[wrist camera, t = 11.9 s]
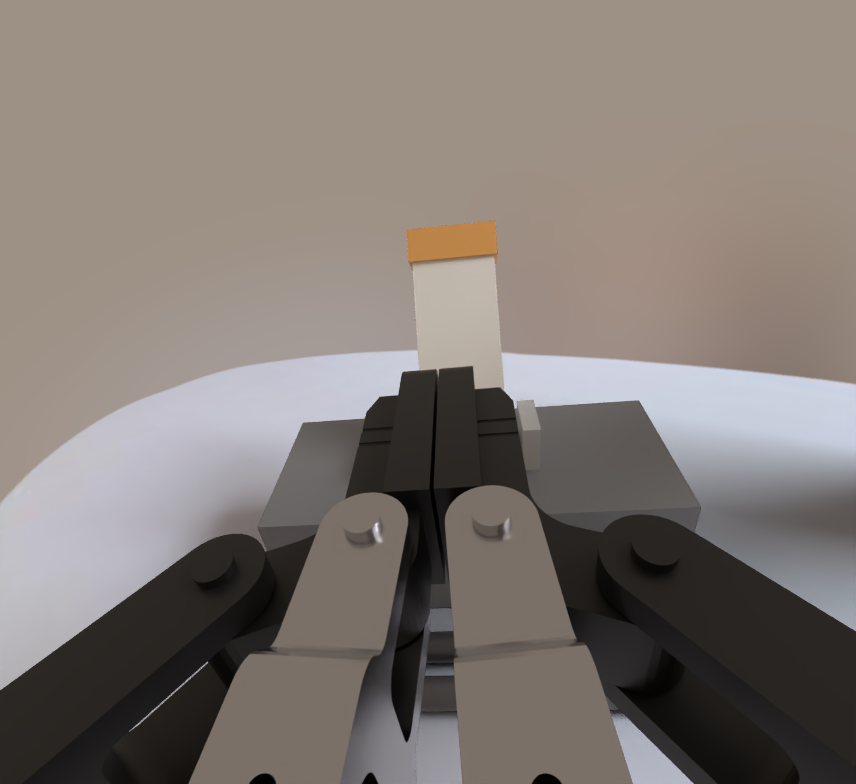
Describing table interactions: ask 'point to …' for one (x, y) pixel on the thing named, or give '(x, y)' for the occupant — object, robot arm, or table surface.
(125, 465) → the table surface
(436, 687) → the block
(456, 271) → the breaker lever
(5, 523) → the table surface
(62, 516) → the table surface
